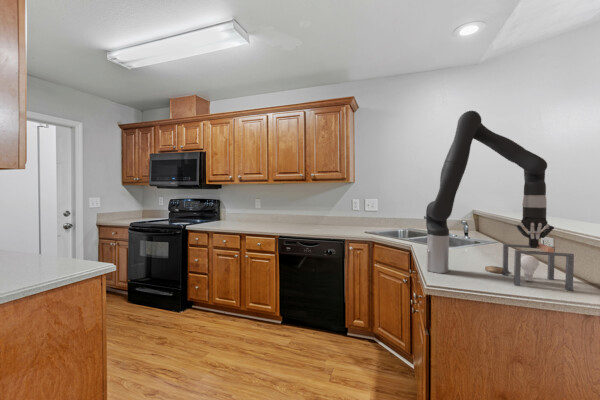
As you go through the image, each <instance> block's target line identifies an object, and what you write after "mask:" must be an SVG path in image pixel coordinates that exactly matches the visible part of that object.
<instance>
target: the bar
mask: <svg viewBox="0 0 600 400" xmlns="http://www.w3.org/2000/svg"><path fill="white" fill-rule="evenodd" d="M549 246H550V245H546V244H543V243H541V242H539V246H538V247H537V248H539V249H540V250H542V251H543V252H553V253H554V248H552V247H549ZM537 248H536V249H537Z"/></svg>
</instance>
